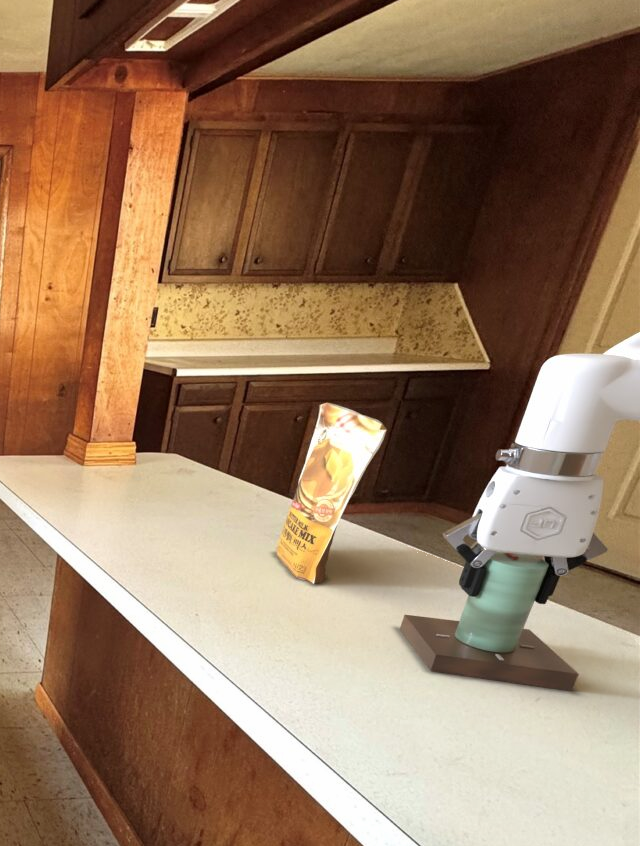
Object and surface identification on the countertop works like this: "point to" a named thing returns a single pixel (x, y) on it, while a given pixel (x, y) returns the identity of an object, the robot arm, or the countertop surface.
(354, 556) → the countertop surface
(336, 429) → the pancake mix bag
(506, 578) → the mint green cylinder
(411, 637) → the dark brown slab
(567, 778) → the countertop surface
